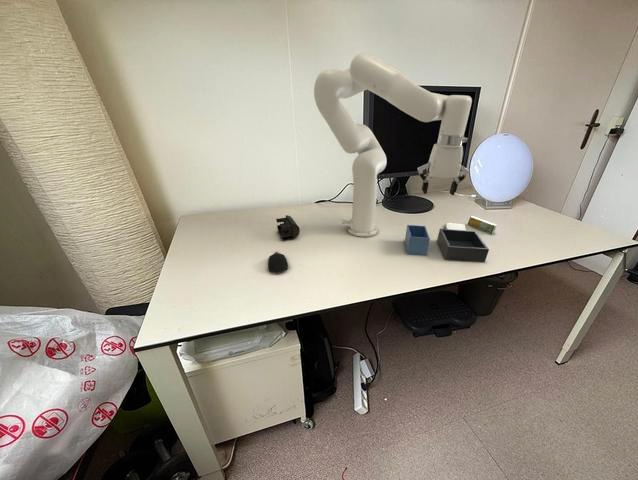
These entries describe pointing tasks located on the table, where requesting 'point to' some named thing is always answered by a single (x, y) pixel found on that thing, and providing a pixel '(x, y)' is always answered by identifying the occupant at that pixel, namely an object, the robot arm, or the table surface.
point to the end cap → (288, 228)
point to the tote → (462, 245)
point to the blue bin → (416, 240)
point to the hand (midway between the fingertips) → (438, 193)
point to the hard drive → (455, 226)
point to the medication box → (482, 225)
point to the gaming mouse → (277, 263)
